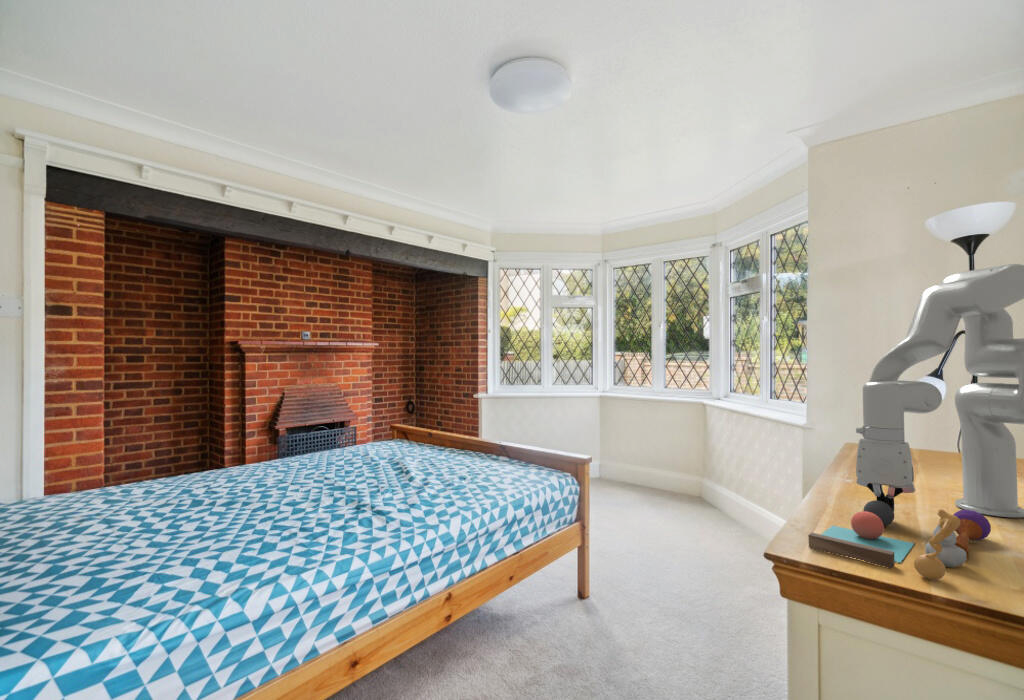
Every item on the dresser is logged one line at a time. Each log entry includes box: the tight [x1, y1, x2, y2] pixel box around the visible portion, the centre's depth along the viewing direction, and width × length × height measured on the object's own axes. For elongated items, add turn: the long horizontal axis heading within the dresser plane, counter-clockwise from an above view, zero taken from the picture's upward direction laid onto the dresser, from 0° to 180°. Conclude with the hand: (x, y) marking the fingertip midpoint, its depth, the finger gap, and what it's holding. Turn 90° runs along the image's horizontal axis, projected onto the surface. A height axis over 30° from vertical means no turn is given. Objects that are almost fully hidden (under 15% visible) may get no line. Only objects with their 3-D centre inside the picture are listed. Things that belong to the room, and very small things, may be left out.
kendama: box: [953, 509, 992, 560], centre depth 93 cm, size 6×6×20 cm
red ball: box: [850, 511, 885, 539], centre depth 97 cm, size 6×6×6 cm
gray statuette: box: [924, 524, 967, 568], centre depth 85 cm, size 5×7×8 cm
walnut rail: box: [807, 532, 896, 569], centre depth 88 cm, size 2×13×2 cm, turn 41°
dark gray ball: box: [863, 499, 895, 527], centre depth 105 cm, size 6×6×6 cm
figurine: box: [913, 508, 960, 581], centre depth 78 cm, size 8×6×12 cm
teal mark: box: [821, 525, 915, 564], centre depth 95 cm, size 14×14×1 cm
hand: (885, 513), depth 109 cm, fingers closed
